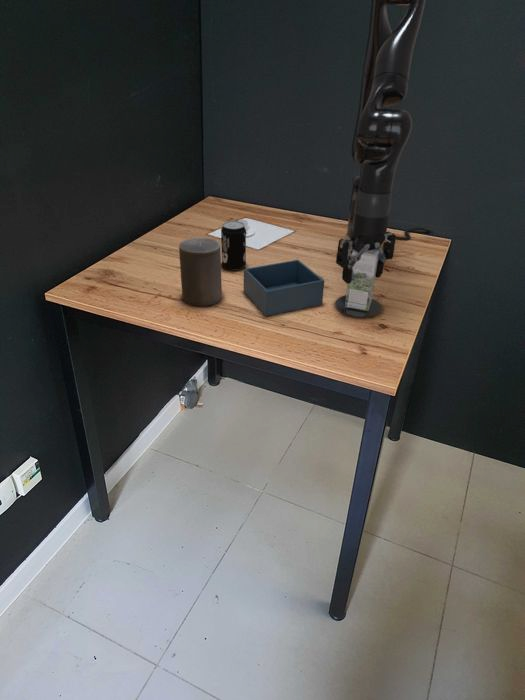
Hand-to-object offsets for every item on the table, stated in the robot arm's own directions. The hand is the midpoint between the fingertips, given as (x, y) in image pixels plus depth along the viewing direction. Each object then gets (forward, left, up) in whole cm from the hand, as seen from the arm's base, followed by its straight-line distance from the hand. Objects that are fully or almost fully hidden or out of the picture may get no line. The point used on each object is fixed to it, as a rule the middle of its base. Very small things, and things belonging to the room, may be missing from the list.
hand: (361, 279), depth 117 cm
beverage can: (+19, -33, -8) cm, 39 cm away
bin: (+15, -11, -7) cm, 20 cm away
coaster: (0, 0, -7) cm, 7 cm away
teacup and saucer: (+4, -55, -8) cm, 56 cm away
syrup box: (0, 0, -7) cm, 7 cm away
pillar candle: (+33, -19, -8) cm, 39 cm away
